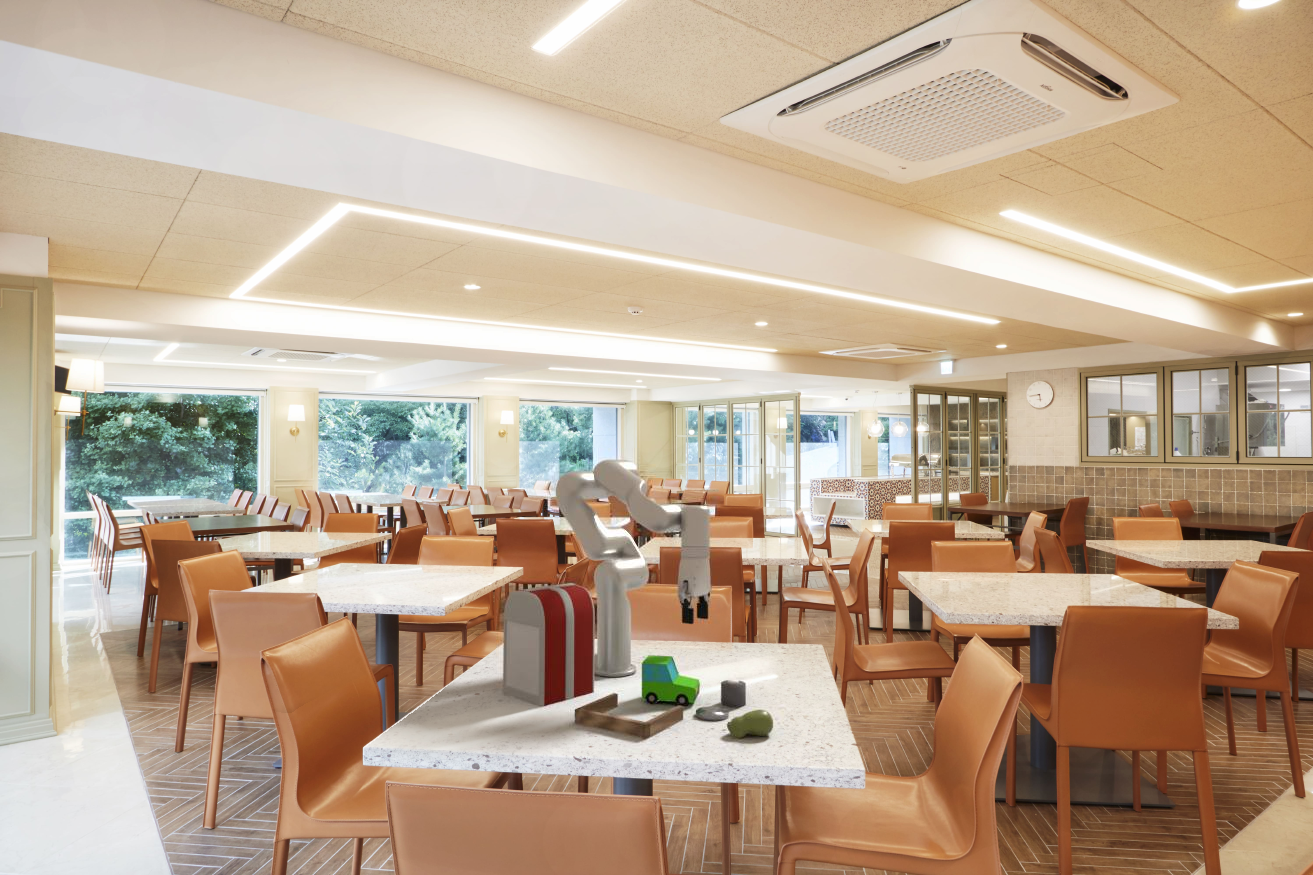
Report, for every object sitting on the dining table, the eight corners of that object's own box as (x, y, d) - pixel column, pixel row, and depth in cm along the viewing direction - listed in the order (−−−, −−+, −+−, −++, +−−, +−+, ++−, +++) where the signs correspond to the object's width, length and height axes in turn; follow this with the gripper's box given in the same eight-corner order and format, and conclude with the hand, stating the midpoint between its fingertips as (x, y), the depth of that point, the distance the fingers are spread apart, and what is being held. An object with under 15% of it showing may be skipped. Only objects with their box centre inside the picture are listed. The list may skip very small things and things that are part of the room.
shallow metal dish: (689, 717, 177) (689, 712, 177) (705, 708, 183) (705, 704, 183) (719, 722, 173) (719, 718, 173) (734, 713, 179) (734, 709, 179)
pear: (773, 712, 163) (728, 721, 162) (778, 736, 163) (732, 746, 162) (767, 704, 169) (723, 713, 167) (771, 727, 169) (727, 737, 167)
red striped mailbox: (596, 692, 197) (596, 586, 198) (541, 707, 184) (542, 593, 186) (554, 680, 208) (555, 579, 210) (500, 693, 196) (502, 586, 197)
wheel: (716, 705, 186) (716, 681, 187) (727, 698, 192) (727, 676, 192) (739, 709, 183) (738, 685, 184) (749, 702, 188) (749, 679, 189)
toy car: (694, 708, 183) (694, 666, 184) (640, 705, 186) (640, 663, 187) (701, 696, 193) (701, 656, 194) (649, 693, 196) (649, 654, 197)
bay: (574, 722, 173) (574, 709, 173) (613, 705, 186) (613, 692, 186) (647, 738, 162) (647, 724, 163) (683, 719, 175) (683, 706, 175)
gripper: (698, 549, 211) (698, 614, 210) (665, 554, 196) (665, 624, 195) (723, 550, 207) (723, 617, 206) (691, 556, 192) (691, 628, 191)
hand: (695, 620), depth 201 cm, fingers open, 7 cm apart
